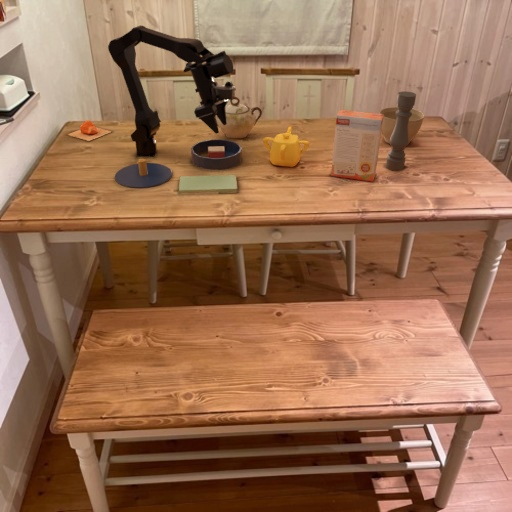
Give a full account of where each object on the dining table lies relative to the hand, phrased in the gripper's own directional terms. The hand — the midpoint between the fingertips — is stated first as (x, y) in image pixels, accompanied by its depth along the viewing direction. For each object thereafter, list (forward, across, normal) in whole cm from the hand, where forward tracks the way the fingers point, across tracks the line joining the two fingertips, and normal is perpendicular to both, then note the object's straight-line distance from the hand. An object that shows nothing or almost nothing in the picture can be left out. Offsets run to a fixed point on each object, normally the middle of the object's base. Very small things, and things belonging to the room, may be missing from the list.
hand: (221, 128), depth 170 cm
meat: (+11, +5, +8) cm, 14 cm away
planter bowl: (+31, +39, -50) cm, 71 cm away
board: (+13, -15, +5) cm, 21 cm away
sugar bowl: (+10, +30, +7) cm, 33 cm away
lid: (+5, -14, +26) cm, 30 cm away
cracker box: (+28, +4, -37) cm, 46 cm away
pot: (+11, +5, +8) cm, 14 cm away
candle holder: (+32, +14, -50) cm, 61 cm away
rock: (-8, +18, +60) cm, 63 cm away
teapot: (+19, +10, -14) cm, 26 cm away
